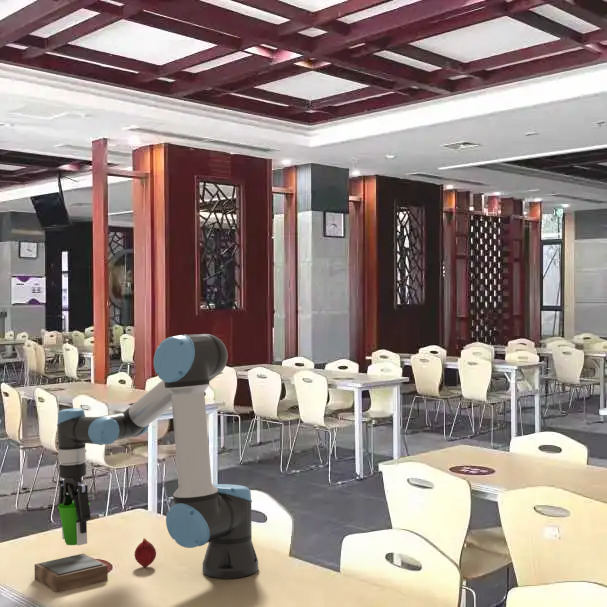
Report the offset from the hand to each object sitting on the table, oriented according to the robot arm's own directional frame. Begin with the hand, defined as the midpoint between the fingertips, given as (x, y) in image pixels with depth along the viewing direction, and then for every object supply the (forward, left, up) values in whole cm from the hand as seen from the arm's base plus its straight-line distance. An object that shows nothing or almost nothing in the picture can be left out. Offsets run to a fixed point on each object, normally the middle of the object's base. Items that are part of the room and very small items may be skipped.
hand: (74, 541), depth 237 cm
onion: (-21, -11, -5) cm, 24 cm away
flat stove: (-17, +9, -5) cm, 20 cm away
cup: (0, 0, -1) cm, 1 cm away
